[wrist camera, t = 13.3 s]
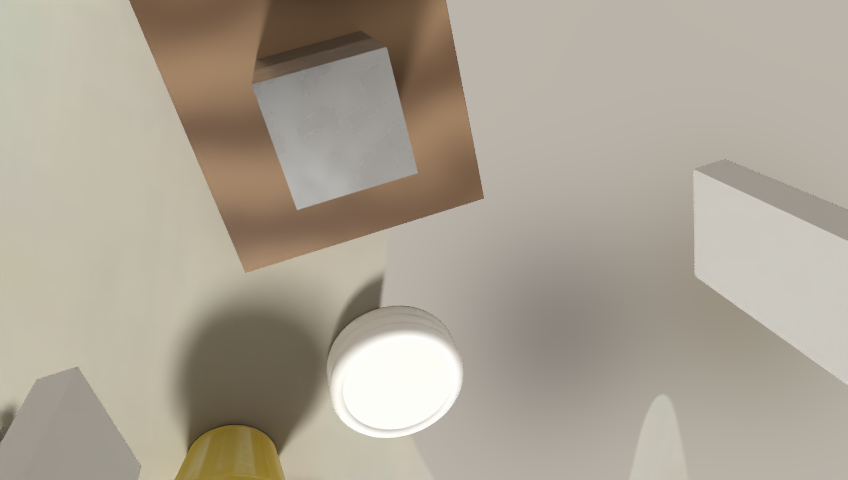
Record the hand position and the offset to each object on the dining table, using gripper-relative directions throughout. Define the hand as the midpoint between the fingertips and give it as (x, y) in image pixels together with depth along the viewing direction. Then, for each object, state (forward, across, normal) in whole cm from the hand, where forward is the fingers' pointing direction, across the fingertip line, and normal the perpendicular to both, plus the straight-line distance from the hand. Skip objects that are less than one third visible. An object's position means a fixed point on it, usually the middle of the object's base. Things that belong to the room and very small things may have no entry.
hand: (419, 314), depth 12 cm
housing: (+24, 0, 0) cm, 24 cm away
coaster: (+27, -1, -21) cm, 34 cm away
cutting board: (+26, 0, 0) cm, 27 cm away
